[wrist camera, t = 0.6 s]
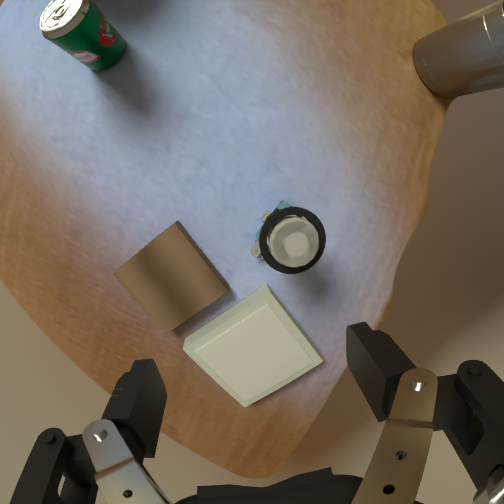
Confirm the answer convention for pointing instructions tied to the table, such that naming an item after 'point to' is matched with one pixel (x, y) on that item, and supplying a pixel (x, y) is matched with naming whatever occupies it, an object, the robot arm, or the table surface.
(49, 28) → the soda can
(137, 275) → the walnut stand
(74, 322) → the table surface
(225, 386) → the cream tray
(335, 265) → the table surface
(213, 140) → the table surface
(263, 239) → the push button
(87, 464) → the robot arm
